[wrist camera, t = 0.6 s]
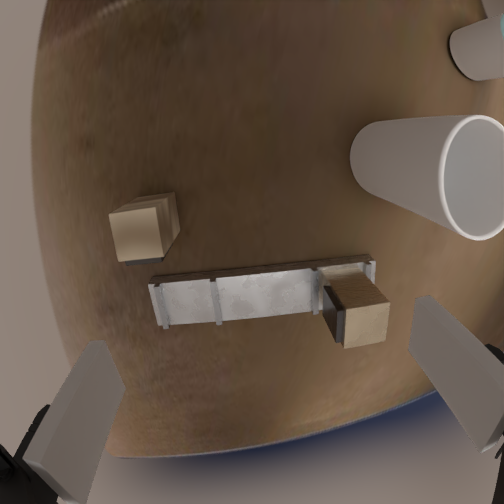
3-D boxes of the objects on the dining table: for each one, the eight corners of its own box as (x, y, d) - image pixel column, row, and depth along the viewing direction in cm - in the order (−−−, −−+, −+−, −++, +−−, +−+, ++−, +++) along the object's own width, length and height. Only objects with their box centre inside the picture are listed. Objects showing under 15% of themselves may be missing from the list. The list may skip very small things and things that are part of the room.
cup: (378, 212, 32) (470, 265, 17) (334, 151, 30) (418, 162, 15) (427, 167, 31) (532, 192, 16) (388, 106, 29) (491, 92, 14)
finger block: (137, 197, 31) (108, 214, 23) (174, 191, 31) (155, 207, 23) (145, 240, 32) (120, 268, 25) (181, 235, 32) (165, 263, 25)
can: (473, 92, 28) (542, 87, 16) (438, 49, 26) (504, 27, 15) (491, 61, 26) (554, 52, 15) (458, 21, 24) (519, -1, 13)
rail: (152, 276, 34) (125, 324, 24) (368, 254, 34) (410, 293, 24) (161, 316, 35) (140, 371, 26) (366, 294, 36) (403, 341, 26)
